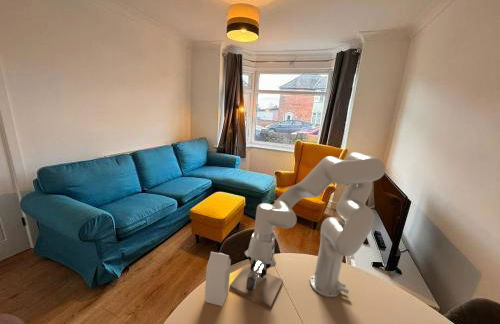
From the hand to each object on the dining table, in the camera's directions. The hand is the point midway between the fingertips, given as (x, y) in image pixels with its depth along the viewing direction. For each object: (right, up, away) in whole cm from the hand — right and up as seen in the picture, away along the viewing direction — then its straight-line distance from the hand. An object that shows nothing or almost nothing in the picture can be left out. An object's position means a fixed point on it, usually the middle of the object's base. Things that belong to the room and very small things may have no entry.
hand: (258, 273), depth 87 cm
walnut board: (0, -6, +1) cm, 6 cm away
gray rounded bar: (-1, -2, -1) cm, 2 cm away
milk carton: (-16, -6, -6) cm, 19 cm away
